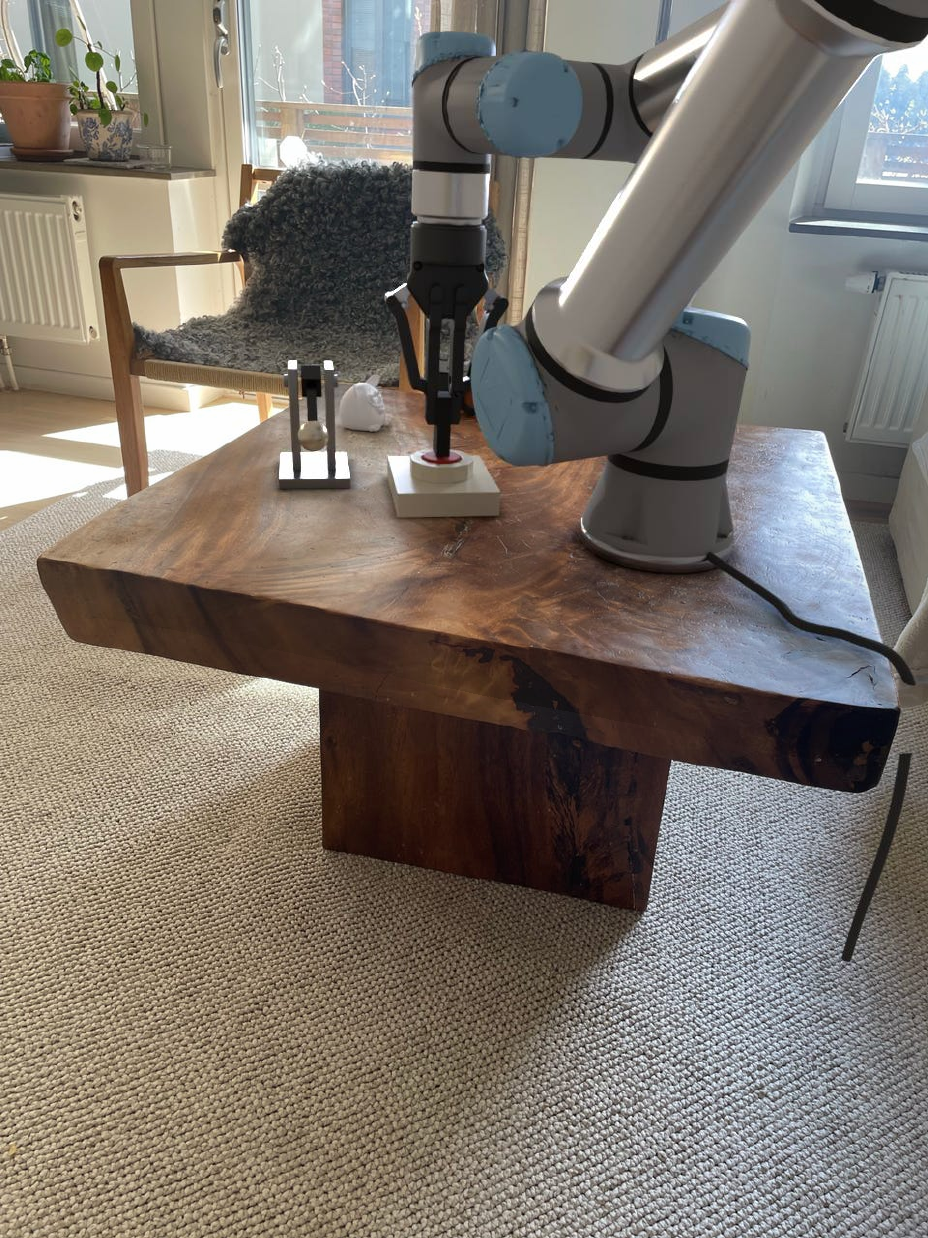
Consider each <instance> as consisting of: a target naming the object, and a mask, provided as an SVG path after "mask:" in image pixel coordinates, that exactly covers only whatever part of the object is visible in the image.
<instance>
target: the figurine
mask: <svg viewBox="0 0 928 1238" xmlns="http://www.w3.org/2000/svg"><path fill="white" fill-rule="evenodd" d="M379 382H380V376H379V374H376V373H375V374H372V375H370V377H369V378H368V379H367V380H366V381H365V382H358V383H354V384H353V385H352V386H350V387H349V388H348V389H347V390H346V392H345V393H344V395H343V396H342V398H341V401H340V405H339V408H338V409H339V410H338V411H339V419H340V422H341V425H342V426H343V427H344V428H346V429H348V430H352V431H353V430H354V431H363V432H368V431H369V432H370V433H373V432H376V433H377V432H378V431H380V430H381V427H387V426H388V425H389V424H390V421H389V419H388V418H387V415H386V414H387V413H386V408H385V407H386V406H385V404H384V399H383V395H382V393H383V391H381V390H380V391H379V390H378V389H377V388H376V387H377V386H378V384H379Z"/></svg>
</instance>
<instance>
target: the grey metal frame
mask: <svg viewBox="0 0 928 1238" xmlns="http://www.w3.org/2000/svg"><path fill="white" fill-rule="evenodd" d="M333 363H334V362H333V361H332V360H324V361H323V380H324V381H323V383H324V412H325V413H324V414H325V418H324V419H325V427H326V429H327V431H328V442H327V444H326V446H325V448H326V449H325V451H315V452H312V451H308V452H307V451H306V452H305V451H304V452H302V446H301V444H300V443H299V440H298V431H299V429H300V427H301V419H300V397H299V396H300V394H299V373H298V372H299V371H298V361H297V360H288V361H287V374H285V373H284V374H283V386H284V387H283V388H288V405H289V407H288V408H289V425H290V445H291V446H290V447H291V448H290V449H291V451H289V452H288V451H287V452H284V451H283V452H282V451H281V452H280V455H279V469H278V471H279V472H278V489H279V490H300V489H301V490H302V489H303V490H305V489H306V490H307V489H308V490H309V489H310V490H311V489H313V490H314V489H351V473H350V467H349V459H348V453H347V451H337V450H336V449H337V446H336V412H335V410H336V409H335V408H336V407H335V404H336V403H335V402H336V401H335V389H337V388H339V375H338V374H335V369H334V364H333Z"/></svg>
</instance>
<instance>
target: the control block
mask: <svg viewBox="0 0 928 1238" xmlns="http://www.w3.org/2000/svg"><path fill="white" fill-rule="evenodd" d="M430 451H434V450H433V448H426V449H421V450H416V451H415V452H413V453H411V454H410V455H387V456H386V457H387V458H386V463H387V464H386V467H387V468H386V471H387V472H386V473H387V474H386V477H387V482H388V486H389V490H390V494H391V498H392V502H393V505H394V510H395V513H396V517H397V518H452V517H454V518H455V517H456V518H457V517H499V516H500V505H501V491H500V489H499V487H498V485H497V483H496V482H495V481H494V478H493V476H492V475H491V473H490V472H489V470H488V468H487V466H486V464H485V463H484V461H483V459H482V457H481V456H480V455H471V454H469V453H466V452H465V451H462V450H458V449H451V448H450V451H451V452H454V453H457V454H458V455H459V456H460V462H458V463H453V464H435V463H429V462H427V461H424V454H425V453H427V452H430Z"/></svg>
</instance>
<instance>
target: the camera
mask: <svg viewBox="0 0 928 1238" xmlns="http://www.w3.org/2000/svg"><path fill="white" fill-rule="evenodd" d="M469 363H470V360H469V361H468V360H467V358H464V374H463V378H464V377H466V373H467V370H468V366H469ZM448 382H449V357H446V356H440V364H439V391H448V392H449V386H448ZM461 412H463V413H464V414H466V415H468V416H470V417H471V416H472V417H476V413H475V409H474V404H473V397H472V390H471V391H468V392H466V393H464V394H463V396H462V402H461Z"/></svg>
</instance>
